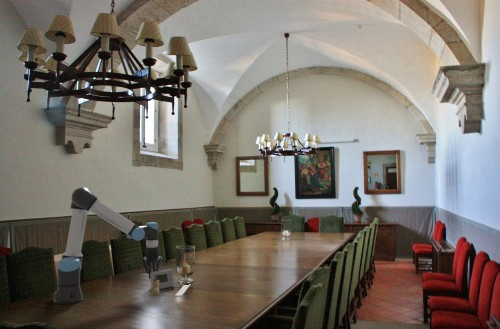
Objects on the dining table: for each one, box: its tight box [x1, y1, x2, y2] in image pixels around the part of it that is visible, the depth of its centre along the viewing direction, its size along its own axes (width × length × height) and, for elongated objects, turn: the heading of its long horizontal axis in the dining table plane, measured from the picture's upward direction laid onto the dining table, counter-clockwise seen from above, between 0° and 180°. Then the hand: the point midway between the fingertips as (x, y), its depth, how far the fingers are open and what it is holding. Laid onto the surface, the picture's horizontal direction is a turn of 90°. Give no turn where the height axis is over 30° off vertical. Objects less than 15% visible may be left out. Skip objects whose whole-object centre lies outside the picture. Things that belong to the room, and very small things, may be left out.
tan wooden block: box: [150, 279, 160, 296], centre depth 243 cm, size 4×4×9 cm
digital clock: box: [150, 268, 175, 290], centre depth 259 cm, size 16×9×11 cm, turn 121°
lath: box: [174, 284, 192, 297], centre depth 256 cm, size 4×36×1 cm, turn 179°
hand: (152, 284), depth 260 cm, fingers closed
